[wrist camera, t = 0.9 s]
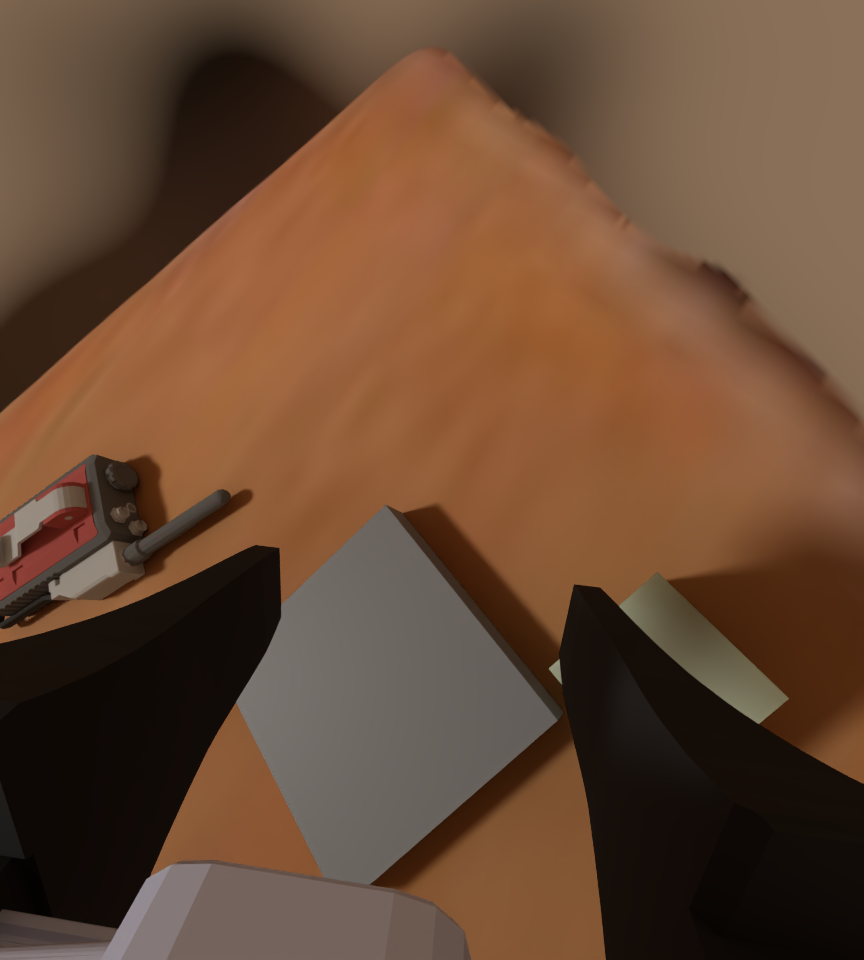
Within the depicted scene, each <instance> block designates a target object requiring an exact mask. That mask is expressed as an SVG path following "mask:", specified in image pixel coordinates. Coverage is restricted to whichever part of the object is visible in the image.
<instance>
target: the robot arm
mask: <svg viewBox="0 0 864 960" xmlns="http://www.w3.org/2000/svg"><path fill="white" fill-rule="evenodd" d="M280 619H281V586H280V553H279V548H275V547H266V546H258V545H255V546H252V547H250V548H247V549H245V550H243V551H241V552H239V553H237V554H235V555H233V556H231V557H229V558H227V559H225V560H223V561H221V562H219V563H217V564H215V565H213V566H211V567H210V568H208V569H206V570H204V571H202V572H200V573H198V574H196V575H194V576H192V577H190V578H188V579H186V580H184V581H181V582H179V583H177V584H175V585H173V586H171V587H168V588H166V589H164V590H162V591H160V592H158V593H155V594H153V595H151V596H149V597H147V598H144V599H142V600H139V601H137V602H135V603H132V604H130V605H127V606H125V607H122V608H119V609H116V610H114V611H111V612H108V613H105V614H103V615H100V616H97V617H94V618H91V619H88V620H85V621H81V622H78V623H75V624H71V625H68V626H65V627H61V628H58V629H55V630H51V631H48V632H45V633H41V634H38V635H34V636H30V637H26V638H22V639H18V640H14V641H10V642H5V643H1V644H0V960H471V957H470V953H469V949H468V945H467V941H466V937H465V933H464V931H463V930H462V928H461V927H460V926H459V925H458V924H457V923H456V922H455V921H454V920H453V919H452V918H450V917H449V916H448V915H447V914H446V913H445V912H444V911H442V910H441V909H440V908H439V907H438V906H437V905H435V904H434V903H433V902H432V901H429V900H426V899H423V898H420V897H417V896H414V895H411V894H408V893H405V892H402V891H399V890H396V889H391V888H385V887H379V886H373V885H367V884H360V883H354V882H348V881H342V880H336V879H329V878H323V877H317V876H311V875H305V874H298V873H292V872H286V871H280V870H274V869H268V868H261V867H255V866H249V865H243V864H237V863H230V862H224V861H218V860H202V861H180V862H177V863H174V864H172V865H170V866H168V867H166V868H165V869H163V870H161V871H160V872H158V873H156V874H154V875H153V876H151V877H150V875H151V872H152V870H153V868H154V865H155V863H156V861H157V858H158V856H159V854H160V851H161V849H162V847H163V844H164V842H165V840H166V837H167V835H168V833H169V831H170V829H171V827H172V824H173V822H174V820H175V818H176V816H177V813H178V811H179V809H180V807H181V805H182V802H183V800H184V798H185V796H186V794H187V792H188V789H189V787H190V785H191V783H192V781H193V779H194V777H195V775H196V773H197V771H198V769H199V767H200V765H201V763H202V761H203V758H204V756H205V754H206V752H207V750H208V748H209V747H210V745H211V743H212V741H213V739H214V738H215V736H216V734H217V732H218V730H219V729H220V727H221V726H222V724H223V722H224V721H225V719H226V717H227V716H228V714H229V713H230V711H231V709H232V708H233V706H234V704H235V703H236V701H237V700H238V698H239V696H240V695H241V693H242V692H243V690H244V688H245V687H246V685H247V683H248V682H249V680H250V679H251V677H252V675H253V674H254V672H255V670H256V669H257V667H258V665H259V664H260V662H261V660H262V659H263V657H264V655H265V653H266V652H267V649H268V647H269V645H270V643H271V641H272V638H273V636H274V634H275V631H276V629H277V627H278V624H279V622H280ZM559 659H560V671H561V681H562V690H563V696H564V700H565V705H566V709H567V714H568V718H569V722H570V727H571V731H572V735H573V739H574V744H575V748H576V752H577V756H578V761H579V765H580V769H581V773H582V778H583V782H584V787H585V792H586V797H587V802H588V808H589V816H590V823H591V831H592V838H593V846H594V853H595V862H596V871H597V879H598V888H599V896H600V905H601V915H602V925H603V935H604V945H605V955H606V960H864V784H862V783H860V782H858V781H856V780H854V779H852V778H850V777H848V776H846V775H844V774H843V773H841V772H839V771H837V770H835V769H833V768H832V767H830V766H828V765H826V764H824V763H823V762H821V761H819V760H817V759H816V758H814V757H812V756H810V755H808V754H807V753H805V752H803V751H801V750H800V749H798V748H796V747H795V746H793V745H791V744H790V743H788V742H786V741H785V740H783V739H781V738H780V737H778V736H776V735H775V734H773V733H772V732H770V731H769V730H767V729H766V728H764V727H763V726H761V725H760V724H758V723H756V722H755V721H753V720H752V719H750V718H749V717H747V716H746V715H744V714H743V713H741V712H740V711H738V710H737V709H736V708H734V707H733V706H731V705H730V704H729V703H727V702H726V701H724V700H723V699H722V698H721V697H719V696H718V695H717V694H715V693H714V692H713V691H711V690H710V689H709V688H707V687H706V686H705V685H703V684H702V683H701V682H700V681H698V680H697V679H696V678H695V677H693V676H692V675H691V674H690V673H688V672H687V671H686V670H685V669H684V668H683V667H682V666H680V665H679V664H678V663H677V662H676V661H675V660H674V659H672V658H671V657H670V656H669V655H668V654H667V653H666V652H665V651H664V650H662V649H661V648H660V647H659V646H658V645H657V644H656V643H655V642H654V641H653V640H652V639H651V638H650V637H649V636H648V635H647V634H646V633H645V632H644V631H643V630H642V629H641V628H640V627H639V626H638V625H637V624H636V623H635V622H634V621H633V620H632V619H631V618H630V617H629V616H628V615H627V614H626V613H625V612H624V611H623V610H622V609H621V608H620V607H619V606H618V605H617V604H616V603H615V602H614V601H613V600H612V599H611V598H610V597H609V596H608V595H607V594H606V593H605V592H604V591H603V590H602V589H601V588H599V587H591V586H583V585H574V587H573V592H572V596H571V601H570V605H569V610H568V615H567V619H566V624H565V628H564V633H563V638H562V642H561V647H560V651H559Z"/></svg>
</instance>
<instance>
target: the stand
mask: <svg viewBox="0 0 864 960" xmlns="http://www.w3.org/2000/svg"><path fill="white" fill-rule="evenodd" d="M236 703H237V705H238V707H239V709H240V711H241V713H242V715H243V717H244V719H245V721H246V723H247V725H248V727H249V729H250V731H251V733H252V735H253V737H254V739H255V741H256V743H257V745H258V747H259V749H260V751H261V753H262V755H263V757H264V759H265V761H266V763H267V765H268V767H269V769H270V771H271V773H272V775H273V777H274V779H275V781H276V783H277V785H278V787H279V789H280V791H281V793H282V795H283V797H284V799H285V801H286V803H287V805H288V807H289V809H290V811H291V813H292V815H293V817H294V819H295V821H296V823H297V825H298V827H299V829H300V831H301V833H302V835H303V837H304V839H305V841H306V843H307V845H308V847H309V849H310V851H311V853H312V855H313V857H314V859H315V861H316V863H317V865H318V867H319V869H320V871H321V873H322V875H323V877H324V878H329V879H336V880H342V881H348V882H354V883H360V884H367V885H370V884H371V883H372V882H374V881H375V880H376V879H377V878H378V877H379V876H380V875H382V874H383V873H384V872H385V871H386V870H387V869H388V868H390V867H391V866H392V865H393V864H394V863H395V862H396V861H398V860H399V859H400V858H401V857H402V856H403V855H404V854H406V853H407V852H408V851H409V850H410V849H411V848H412V847H414V846H415V845H416V844H417V843H418V842H419V841H420V840H422V839H423V838H424V837H425V836H426V835H427V834H428V833H430V832H431V831H432V830H433V829H434V828H435V827H436V826H438V825H439V824H440V823H441V822H442V821H443V820H444V819H446V818H447V817H448V816H449V815H450V814H451V813H452V812H454V811H455V810H456V809H457V808H458V807H459V806H460V805H462V804H463V803H464V802H465V801H466V800H467V799H468V798H470V797H471V796H472V795H473V794H474V793H475V792H476V791H478V790H479V789H480V788H481V787H482V786H483V785H484V784H486V783H487V782H488V781H489V780H490V779H491V778H492V777H494V776H495V775H496V774H497V773H498V772H499V771H500V770H502V769H503V768H504V767H505V766H506V765H507V764H508V763H510V762H511V761H512V760H513V759H514V758H515V757H517V756H518V755H519V754H520V753H521V752H522V751H523V750H525V749H526V748H527V747H528V746H529V745H530V744H531V743H533V742H534V741H535V740H536V739H537V738H538V737H539V736H541V735H542V734H543V733H544V732H545V731H546V730H547V729H549V728H550V727H551V726H552V725H553V724H554V723H555V722H557V721H558V720H559V718H560V717H561V716H562V715H563V713H564V712H563V711H562V709H561V708H560V707H559V706H558V704H557V703H556V702H555V701H554V700H553V698H552V697H551V696H550V695H549V693H548V692H547V691H546V690H545V688H544V687H543V686H542V685H541V683H540V682H539V681H538V680H537V679H536V677H535V676H534V675H533V674H532V672H531V671H530V670H529V669H528V667H527V666H526V665H525V664H524V663H523V661H522V660H521V659H520V658H519V656H518V655H517V654H516V653H515V651H514V650H513V649H512V648H511V646H510V645H509V644H508V643H507V642H506V640H505V639H504V638H503V637H502V635H501V634H500V633H499V632H498V630H497V629H496V628H495V627H494V626H493V624H492V623H491V622H490V621H489V619H488V618H487V617H486V616H485V614H484V613H483V612H482V611H481V609H480V608H479V607H478V606H477V605H476V603H475V602H474V601H473V600H472V598H471V597H470V596H469V595H468V593H467V592H466V591H465V590H464V588H463V587H462V586H461V585H460V584H459V582H458V581H457V580H456V579H455V577H454V576H453V575H452V574H451V572H450V571H449V570H448V569H447V568H446V566H445V565H444V564H443V563H442V561H441V560H440V559H439V558H438V556H437V555H436V554H435V553H434V551H433V550H432V549H431V548H430V547H429V545H428V544H427V543H426V542H425V540H424V539H423V538H422V537H421V535H420V534H419V533H418V532H417V531H416V529H415V528H414V527H413V526H412V524H411V523H410V522H409V521H408V519H407V518H406V517H405V516H404V514H403V513H401V512H399V511H397V510H395V509H393V508H391V507H389V506H387V505H385V506H384V507H383V508H382V509H381V510H380V511H379V512H377V513H376V514H375V515H374V516H373V517H372V518H371V519H370V520H369V521H368V522H367V523H366V524H365V525H364V526H363V527H362V528H361V529H360V530H359V531H358V532H357V533H356V534H355V535H354V536H353V537H351V538H350V539H349V540H348V541H347V542H346V543H345V544H344V545H343V546H342V547H341V548H340V549H339V550H338V551H337V552H336V553H335V554H334V555H333V556H332V557H331V558H330V559H329V560H328V561H327V562H325V563H324V564H323V565H322V566H321V567H320V568H319V569H318V570H317V571H316V572H315V573H314V574H313V575H312V576H311V577H310V578H309V579H308V580H307V581H306V582H305V583H304V584H303V585H302V586H301V587H299V588H298V589H297V590H296V591H295V592H294V593H293V594H292V595H291V596H290V597H289V598H288V599H287V600H286V601H285V602H284V603H283V604H282V605H281V619H280V622H279V624H278V627H277V629H276V631H275V634H274V636H273V638H272V641H271V643H270V645H269V647H268V649H267V652H266V653H265V655H264V657H263V659H262V660H261V662H260V664H259V665H258V667H257V669H256V670H255V672H254V674H253V675H252V677H251V679H250V680H249V682H248V683H247V685H246V687H245V688H244V690H243V692H242V693H241V695H240V696H239V698H238V700H237V701H236Z"/></svg>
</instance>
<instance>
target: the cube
mask: <svg viewBox="0 0 864 960" xmlns="http://www.w3.org/2000/svg"><path fill="white" fill-rule="evenodd" d="M619 607H620V608H621V609H622V610H623V611H624V612H625V613H626V614H627V615H628V616H629V617H630V618H631V619H632V620H633V621H634V622H635V623H636V624H637V625H638V626H639V627H640V628H641V629H642V630H643V631H644V632H645V633H646V634H647V635H648V636H649V637H650V638H651V639H652V640H653V641H654V642H655V643H656V644H657V645H658V646H659V647H660V648H661V649H662V650H664V651H665V652H666V653H667V654H668V655H669V656H670V657H671V658H672V659H674V660H675V661H676V662H677V663H678V664H679V665H680V666H682V667H683V668H684V669H685V670H686V671H687V672H688V673H690V674H691V675H692V676H693V677H695V678H696V679H697V680H698V681H700V682H701V683H702V684H703V685H705V686H706V687H707V688H709V689H710V690H711V691H713V692H714V693H715V694H717V695H718V696H719V697H721V698H722V699H723V700H724V701H726V702H727V703H729V704H730V705H731V706H733V707H734V708H736V709H737V710H738V711H740V712H741V713H743V714H744V715H746V716H747V717H749V718H750V719H752V720H753V721H755V722H756V723H758V724H759V723H761V722H762V721H763V720H764V719H765V718H767V717H768V716H769V715H770V714H771V713H773V712H774V711H775V710H776V709H777V708H779V707H780V706H781V705H782V704H783V703H785V702H786V701H787V700H788V699H789V698H788V697H787V696H786V695H785V694H784V693H783V692H782V691H781V690H780V689H779V688H778V687H777V686H776V685H775V684H774V683H772V682H771V681H770V680H769V679H768V678H767V677H766V676H765V675H764V674H763V673H762V672H761V671H760V670H759V669H758V668H757V667H756V666H755V665H754V664H753V663H752V662H751V661H750V660H749V659H747V658H746V657H745V656H744V655H743V654H742V653H741V652H740V651H739V650H738V649H737V648H736V647H735V646H734V645H733V644H732V643H731V642H730V641H729V640H728V639H727V638H726V637H725V636H724V635H722V634H721V633H720V632H719V631H718V630H717V629H716V628H715V627H714V626H713V625H712V624H711V623H710V622H709V621H708V620H707V619H706V618H705V617H704V616H703V615H702V614H701V613H700V612H699V611H697V610H696V609H695V608H694V607H693V606H692V605H691V604H690V603H689V602H688V601H687V600H686V599H685V598H684V597H683V596H682V595H681V594H680V593H679V592H678V591H677V590H676V589H675V588H674V587H672V586H671V585H670V584H669V583H668V582H667V581H666V580H665V579H664V578H663V577H662V576H661V575H660V574H659V573H658V572H657V573H656V574H654V575H653V576H652V577H651V578H650V579H649V580H648V581H647V582H645V583H644V584H643V585H642V586H641V587H640V588H639V589H638V590H636V591H635V592H634V593H633V594H632V595H631V596H630V597H629V598H627V599H626V600H625V601H624V602H623V603H622V604H621V605H620V606H619ZM549 670H550V671H551V672H552V673H553V675H554V676H555V677H556V678H557V679H558V681H559V682H560V683H561V684H562V681H561V671H560V659H559V660H558V661H557V662H555V663H554V664H553V665H552V666H551V667H550V668H549Z"/></svg>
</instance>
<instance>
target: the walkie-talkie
mask: <svg viewBox="0 0 864 960" xmlns="http://www.w3.org/2000/svg"><path fill="white" fill-rule="evenodd" d="M137 482H138V478H137V475H136V473H135V472H134V470H133V469H132V468H131V467H130V466H129V465H127V464H125V463H123V462H119V461H114V460H111V459H108V458H105V457H102V456H99V455H91V456H89V457H88V458H86V459H85V460H84V461H82V462H81V463H80V464H78V465H77V466H75V467H74V468H73V469H71V470H70V471H68V472H67V473H66V474H64V475H63V476H61V477H60V478H59V479H57V480H56V481H54V482H53V483H52V484H50V485H49V486H47V487H46V488H45V489H44V490H43V491H41V492H40V493H39V494H37V495H35V496H34V497H33V498H32V499H29V501H28V502H26V503H24V504H23V505H22V506H21V507H18V508H17V509H16V510H14V511H13V512H12V513H11V514H8V515H7V516H6V517H5V518H3V519H2V520H1V521H0V628H1V629H6V628H10V627H12V626H13V625H15V624H16V623H18V622H19V621H21V620H23V619H24V618H26V617H27V616H30V614H32V613H35V612H36V610H40V609H41V607H43V606H46V605H47V603H49V602H50V603H51V602H52V601H53V600H68V601H69V600H71V599H72V598H73V599H85V600H102V599H103V598H105V597H106V596H108V595H110V594H111V593H113V592H114V591H116V590H118V589H119V588H121V587H122V586H124V585H125V584H127V583H129V582H130V581H132V580H137V579H139V578H140V577H142V576H143V575H145V570H144V565H143V562H144V561H146V560H147V559H149V558H150V557H151V556H152V555H153V552H155V551H157V550H158V549H160V548H161V547H163V546H164V545H166V544H167V543H169V542H171V541H172V540H174V539H175V538H177V537H178V536H180V535H182V534H183V533H185V532H186V531H188V530H189V529H191V528H193V527H194V526H196V525H197V523H198V522H200V521H201V520H203V519H204V518H206V517H207V516H209V515H210V514H212V513H213V512H215V511H216V510H218V509H219V508H221V507H222V506H224V505H225V504H226V503H227V502H228V501H229V500H230V497H231V495H230V493H229V492H228V491H226V490H223V489H222V490H217V491H216V492H214V493H213V494H211V495H210V496H208V497H207V498H205V499H204V500H202V501H201V502H199V503H198V504H196V505H194V506H193V507H191V508H190V509H188V510H187V511H185V512H184V513H182V514H181V515H179V516H178V517H176V518H175V519H173V520H172V521H170V522H168V523H167V524H165V525H164V526H162V527H161V528H159V529H158V530H156V531H155V532H153V533H152V534H150V535H149V536H147V537H146V538H144V539H142V538H143V536H142V535H143V533H144V531H146V530H147V525H146V523H145V522H144V521H142V520H141V521H140V520H139V517H138V512H137V508H136V503H135V498H134V493H133V489H134V488H135V487H136V486H137ZM139 521H140V522H139ZM5 616H10V617H9V618H7V619H6V620H4V618H5Z"/></svg>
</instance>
